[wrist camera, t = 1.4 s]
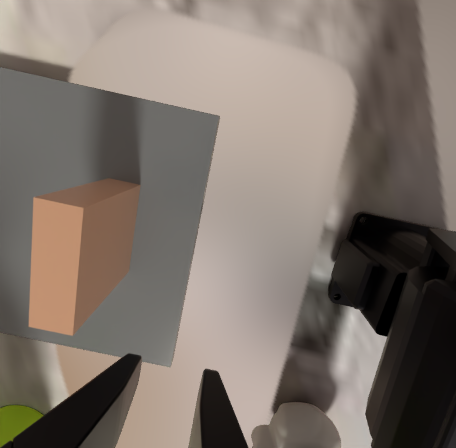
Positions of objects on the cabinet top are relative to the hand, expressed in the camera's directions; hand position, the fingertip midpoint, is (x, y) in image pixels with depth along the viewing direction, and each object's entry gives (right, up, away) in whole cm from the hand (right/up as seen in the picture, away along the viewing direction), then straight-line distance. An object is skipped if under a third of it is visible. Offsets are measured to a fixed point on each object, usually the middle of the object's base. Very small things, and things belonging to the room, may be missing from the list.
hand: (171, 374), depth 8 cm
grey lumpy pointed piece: (+7, -11, +15) cm, 20 cm away
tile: (-5, +4, +11) cm, 13 cm away
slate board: (-9, +4, +12) cm, 15 cm away
